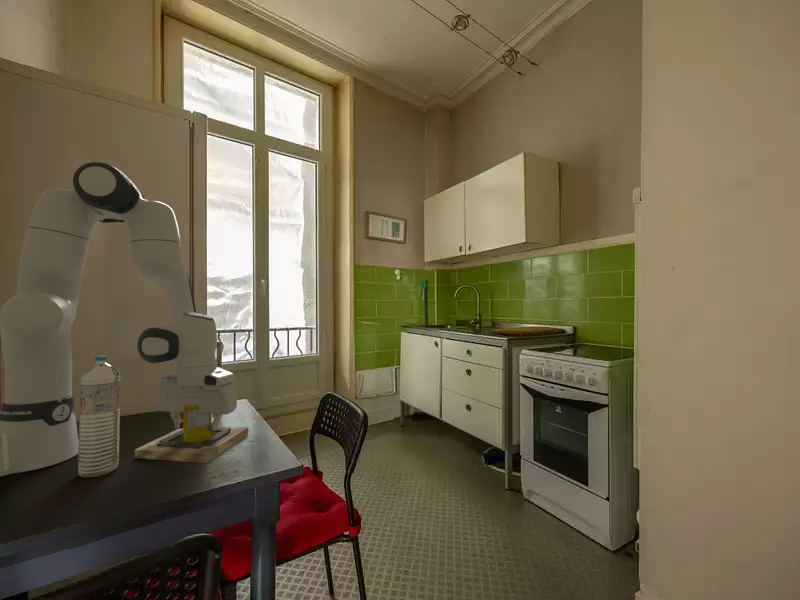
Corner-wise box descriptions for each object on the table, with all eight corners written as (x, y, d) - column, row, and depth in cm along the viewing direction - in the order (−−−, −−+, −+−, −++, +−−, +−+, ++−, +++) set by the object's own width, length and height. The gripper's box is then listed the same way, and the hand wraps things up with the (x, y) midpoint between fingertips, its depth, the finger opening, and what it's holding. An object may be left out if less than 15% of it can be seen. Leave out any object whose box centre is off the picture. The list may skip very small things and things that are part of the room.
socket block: (134, 458, 85) (135, 447, 85) (188, 431, 102) (189, 422, 102) (205, 463, 82) (205, 452, 82) (248, 434, 100) (248, 425, 100)
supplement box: (207, 438, 97) (208, 398, 97) (211, 445, 92) (212, 403, 92) (182, 443, 93) (182, 401, 93) (184, 451, 89) (185, 407, 89)
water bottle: (87, 466, 80) (89, 354, 80) (124, 462, 82) (125, 353, 82) (70, 481, 74) (73, 359, 74) (111, 476, 76) (113, 357, 76)
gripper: (150, 376, 91) (149, 431, 91) (226, 379, 88) (225, 435, 88) (169, 371, 97) (169, 423, 97) (240, 374, 94) (239, 427, 94)
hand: (196, 429), depth 92 cm, fingers closed on supplement box, 8 cm apart
